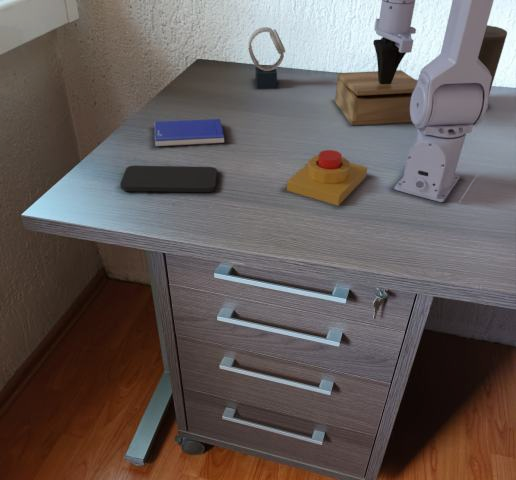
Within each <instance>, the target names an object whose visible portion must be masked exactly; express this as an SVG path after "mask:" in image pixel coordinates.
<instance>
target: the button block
mask: <svg viewBox="0 0 516 480" xmlns="http://www.w3.org/2000/svg"><path fill="white" fill-rule="evenodd" d="M318 158H319V154H317V155H314V156H312V157H311V158H310V159H309V160H308V163H307V164H306V165H304V166H303V167H302V168H301V169H300V170H298V171H297V172H296V173H295V174H294V175H292V176H291V177H290V178H289V179H288V180H286V181H287V182H286V191H287V192H290V193H293V194H294V193H295V194H298V195H301V196H305V197H308V198H311V199H315V200H318V201H321V202H325V203H328V204H331V205H335V206H339V205H341V203H343V202H344V200H345V199H346V198H347V197H348V196H349V195H350V194H351V193H352V192H353V191H354V190H355V189H356V188H357V187H358V186H359V185H360V184H361V183H362V182H363V180H365V179H366V177H367V173H368V167H367V166H364V165H359V164H355V163H352V162H350V161H349V159H347V158H345V157H344V156H342V159H341V167H340V168H338V169H324V168H320V167H319V166H318Z"/></svg>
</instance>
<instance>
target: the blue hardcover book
mask: <svg viewBox="0 0 516 480" xmlns="http://www.w3.org/2000/svg"><path fill="white" fill-rule="evenodd" d="M224 143H225V135H224V131H223V126H222V122H221V119H220V118H213V119H212V118H211V119H182V120H162V121H160V120H158V121H154V145H155V147H167V146H168V147H169V146H186V145H188V146H189V145H205V144H224Z"/></svg>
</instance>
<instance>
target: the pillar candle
mask: <svg viewBox="0 0 516 480" xmlns="http://www.w3.org/2000/svg"><path fill="white" fill-rule="evenodd" d="M507 37H508V31H507V30H506V29H504V28H502V27H499V26H493V25H488V24H487V27H486V30H485V34H484V38H483V41H482V45H481V48H480V52H479V56H478V59H479V60H480V61H481V62H482V63H483V64H484V65H485V66H486V67H487V69H488V70H489V72H490V74H491V76H492V80H491V84H490V90H489V95H490V94H491V90H492V87H493V84H494V80H495V77H496V73H497V70H498V67H499V63H500V60H501V56H502V53H503V50H504V47H505V43H506V39H507Z"/></svg>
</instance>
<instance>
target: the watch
mask: <svg viewBox="0 0 516 480" xmlns="http://www.w3.org/2000/svg"><path fill="white" fill-rule="evenodd" d="M262 33H269V36H270V39H271V41H272V43H273V45H274V47H275V49H276V51H277V53H278V54H279V55H280V56H279V58H278V59H277V60H276V61H275V62H274V63H272V64H260V63H259V62H260V61H259V60H258V59H257V57H256V56H255V54H254V52H253V45H252V43H253V40H255V38H256V37H257V36H258V35H259V34H262ZM247 50H248V54H249V56H250V59H251V62H252V63H253V65H254V66H255V74H254V75H255V76H254V77H255V78H254V80H255V84H256V89H277V85H278V71H277V68H278V67H279V66H280V65H281V64H282V62H283V61H284V57H285V54H284V53H286V48H285V46H284V44H283V42H282V40H281V38H280V35H279V33H278V31H277V30H276V29H274V28H273V29H272V28H271V27H267V26H264V27H263V26H262V27H260V28H257V29H256V30H255V31H254V32H253V33H252V34H251V35H250V37H249V41H248V49H247Z"/></svg>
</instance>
